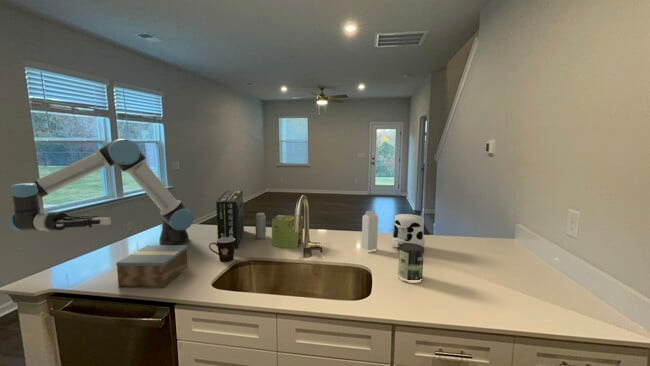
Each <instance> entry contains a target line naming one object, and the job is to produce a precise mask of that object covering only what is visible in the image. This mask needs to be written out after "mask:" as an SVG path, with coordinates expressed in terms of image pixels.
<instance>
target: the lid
mask: <svg viewBox="0 0 650 366" xmlns="http://www.w3.org/2000/svg"><path fill="white" fill-rule="evenodd" d="M186 249H187V250H188V249H189V245H182V244H177V245H162V244H160V245H159V244H148V245H146V246H143V247H142V248H139V250H137V251H134V252H132V253H130V254H129V255H127V256H126V257H124V258H122V259H120V260H119V261H116V267H117V266H165V265H166V264H168V263H169V262H170V261H172V260H173V259H174V258H176V257H177V256H178V255H180V254H181V253H182V252H184V251H185V250H186Z"/></svg>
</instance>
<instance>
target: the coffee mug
mask: <svg viewBox="0 0 650 366" xmlns="http://www.w3.org/2000/svg"><path fill="white" fill-rule="evenodd" d="M211 245H216V247H217V251H218V252H217V251H215V250H213V249H212V248H211ZM234 247H235V238H232V237H224V238H220V239H218V238H217V239H216V242H211V243H209V245H208V248H209V250H210V251H211V252H213V253H215V254H216V255H218V258H219V262H221V263H230V262H232V261H233V260H234V258H235V257H234V256H235V249H234Z"/></svg>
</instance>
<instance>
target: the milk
mask: <svg viewBox="0 0 650 366" xmlns="http://www.w3.org/2000/svg"><path fill="white" fill-rule="evenodd" d="M361 220H362V224H361V225H362V227H361V229H362V230H361V249H362V248H364V249H366V250H373V249H377V250H378V232H379V230H378V227H379V217H378V215H377V214H376V210H366V211H365V214H363V215H362V219H361Z"/></svg>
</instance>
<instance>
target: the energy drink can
mask: <svg viewBox="0 0 650 366" xmlns="http://www.w3.org/2000/svg"><path fill="white" fill-rule="evenodd" d="M254 218H255V239H257V240H265V238H266V237H267V230H266V228H267V226H266V224H267V223H266V222H267V219H266V215H265V212H258V213H256V215H255V217H254Z"/></svg>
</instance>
